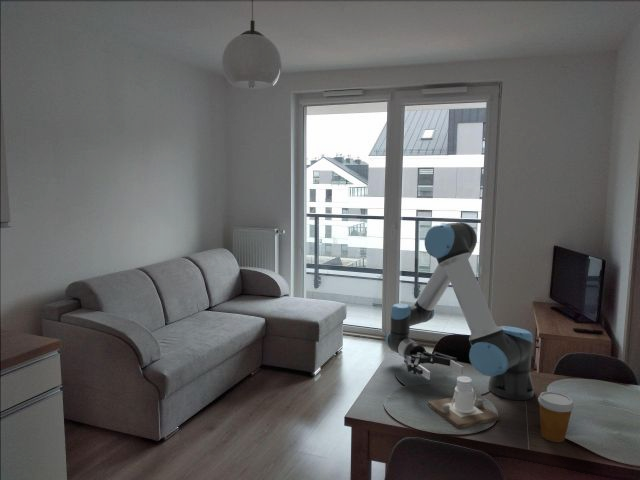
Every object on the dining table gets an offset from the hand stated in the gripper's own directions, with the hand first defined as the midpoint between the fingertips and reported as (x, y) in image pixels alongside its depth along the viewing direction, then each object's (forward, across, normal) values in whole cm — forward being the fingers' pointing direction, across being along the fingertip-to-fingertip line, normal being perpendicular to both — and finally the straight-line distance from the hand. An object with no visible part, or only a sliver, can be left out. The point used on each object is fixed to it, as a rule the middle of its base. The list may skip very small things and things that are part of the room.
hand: (446, 373), depth 163 cm
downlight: (+10, 0, -8) cm, 13 cm away
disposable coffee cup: (+31, -16, -10) cm, 36 cm away
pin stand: (+10, 0, -9) cm, 13 cm away
